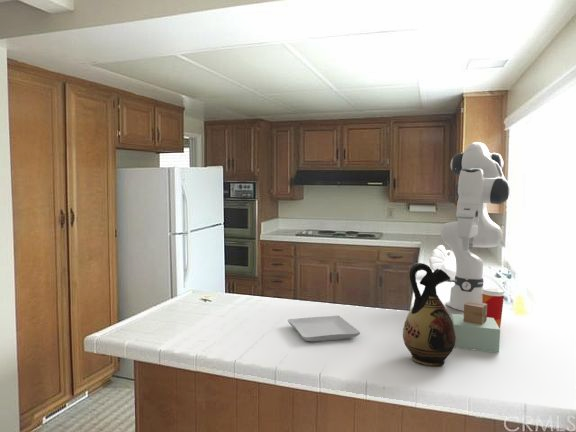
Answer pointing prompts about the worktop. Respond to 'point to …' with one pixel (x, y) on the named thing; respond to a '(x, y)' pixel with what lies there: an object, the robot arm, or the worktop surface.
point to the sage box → (476, 334)
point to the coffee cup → (493, 303)
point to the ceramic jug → (428, 320)
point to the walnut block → (475, 312)
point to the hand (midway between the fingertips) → (467, 249)
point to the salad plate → (323, 328)
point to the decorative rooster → (443, 261)
